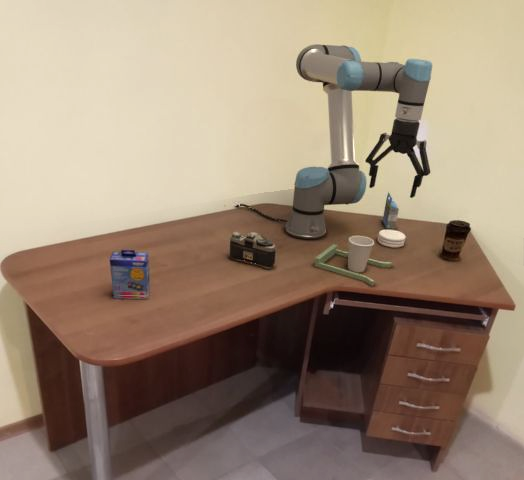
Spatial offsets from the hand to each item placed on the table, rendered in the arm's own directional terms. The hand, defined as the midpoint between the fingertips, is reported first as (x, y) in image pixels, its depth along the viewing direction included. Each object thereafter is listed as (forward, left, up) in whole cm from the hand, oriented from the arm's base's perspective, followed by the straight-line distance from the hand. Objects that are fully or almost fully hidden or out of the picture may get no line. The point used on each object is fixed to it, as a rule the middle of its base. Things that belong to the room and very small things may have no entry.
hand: (391, 191), depth 164 cm
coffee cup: (+20, +23, -25) cm, 39 cm away
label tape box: (-9, +40, -25) cm, 48 cm away
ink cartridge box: (-49, -67, -25) cm, 87 cm away
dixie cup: (-4, -9, -25) cm, 27 cm away
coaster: (-2, +22, -25) cm, 33 cm away
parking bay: (-6, -8, -25) cm, 27 cm away
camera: (-34, -24, -25) cm, 49 cm away
